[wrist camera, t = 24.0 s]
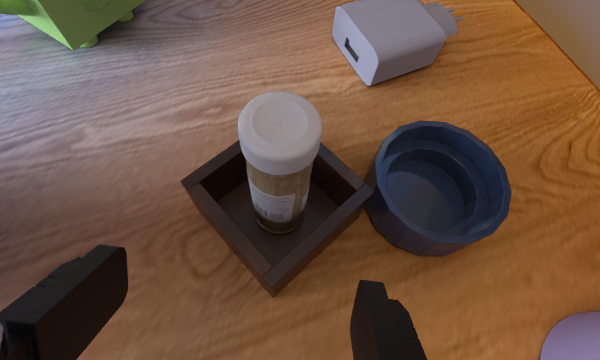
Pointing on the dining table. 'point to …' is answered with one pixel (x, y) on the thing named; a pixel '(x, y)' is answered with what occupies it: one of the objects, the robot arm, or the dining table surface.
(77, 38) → the kettle
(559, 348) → the clip
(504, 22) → the dining table surface
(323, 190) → the box
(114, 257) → the robot arm
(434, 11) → the charger
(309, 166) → the sprinkles bottle
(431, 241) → the bowl
